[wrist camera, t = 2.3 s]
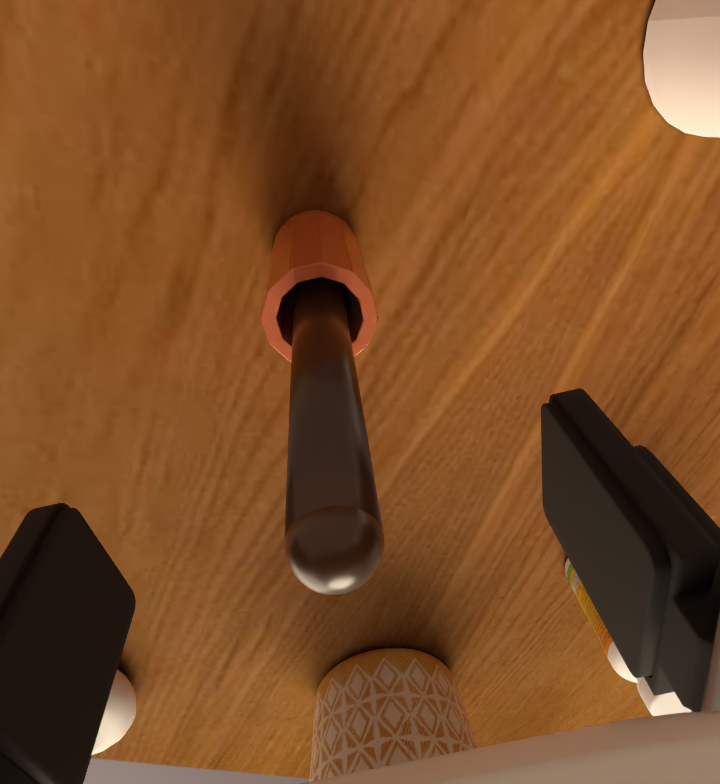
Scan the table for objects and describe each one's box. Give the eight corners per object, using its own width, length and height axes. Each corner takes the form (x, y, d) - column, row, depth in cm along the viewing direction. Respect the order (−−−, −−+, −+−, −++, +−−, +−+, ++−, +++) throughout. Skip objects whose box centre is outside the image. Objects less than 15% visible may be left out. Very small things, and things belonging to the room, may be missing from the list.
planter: (339, 622, 38) (351, 793, 29) (491, 649, 41) (542, 809, 33) (282, 715, 44) (277, 881, 35) (420, 731, 47) (446, 886, 39)
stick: (290, 243, 23) (269, 559, 8) (332, 234, 23) (380, 536, 8) (301, 283, 24) (298, 626, 9) (341, 274, 24) (398, 605, 9)
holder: (261, 220, 23) (247, 278, 17) (348, 200, 23) (364, 252, 17) (285, 301, 25) (280, 378, 19) (366, 283, 25) (385, 355, 19)
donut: (30, 623, 35) (-29, 698, 39) (6, 674, 32) (-55, 750, 36) (167, 669, 39) (103, 733, 43) (157, 718, 36) (89, 782, 40)
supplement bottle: (585, 593, 39) (661, 738, 31) (548, 559, 36) (619, 706, 28) (653, 556, 37) (752, 697, 29) (618, 517, 35) (716, 660, 27)
